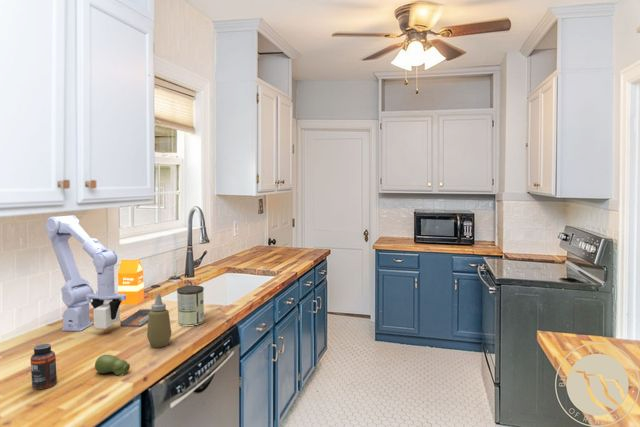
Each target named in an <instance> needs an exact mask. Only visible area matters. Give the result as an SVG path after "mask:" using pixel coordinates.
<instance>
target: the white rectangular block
mask: <svg viewBox="0 0 640 427" xmlns="http://www.w3.org/2000/svg"><path fill="white" fill-rule="evenodd" d="M119 321H121V320H120V307H119V308H118V311H117V314H116V318H115V319H113V320H112V319H111V309H110V305H109V302H106V303H105V304H103V305H101V306H99V307H97V308H95V309H94V308H93V322H94V324H93V328H94V329H107V328H109V327H111V326H112V325H113V324H115V323H117V322H119Z"/></svg>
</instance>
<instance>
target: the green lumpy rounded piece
mask: <svg viewBox="0 0 640 427" xmlns="http://www.w3.org/2000/svg"><path fill="white" fill-rule="evenodd" d="M130 368H131V365H130V363H128V361H126V360H124V359H121V358H119V357H118V356H115V355H112V354H102V355H100V356H98V358H96V360H95V363H94V369H95V371H96V372H98V373H99V374H107V373H114V375H115V376H120V375H122V374H123V375H125V374H126V373H128V372H127V371H129V370H130ZM124 373H125V374H124ZM123 375H122V376H123Z"/></svg>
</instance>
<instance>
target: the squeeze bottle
mask: <svg viewBox="0 0 640 427" xmlns="http://www.w3.org/2000/svg"><path fill="white" fill-rule="evenodd" d="M150 307H151V309H152V311H150V312H149V317H148V322H147V331H146V337H147V339H148V342H149V345H150V347H152V348H155V347H157V348H162V347H163V346H164V347H166V346H168V345H169V343H170V339H171V336H172V328H171V321H170V312H169V310H168V309H167V307H166V303H164V302H163V300H162V296H161V294H160V293H158V294H156V295H155V300H154V303H153V304H151V306H150Z"/></svg>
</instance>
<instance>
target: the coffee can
mask: <svg viewBox="0 0 640 427" xmlns="http://www.w3.org/2000/svg"><path fill="white" fill-rule="evenodd" d="M204 290H205V288H204V286H201V285H185V286H180V287H178V288H177V289H176V292H177V293H176V294H177V324H179V325H178V326H180V325H184V326H189V325H196V324H200V323H202V322H203V321H204V322H205V306H204V305H205V304H204V301H205V300H204V297H205V296H204ZM184 326H183V327H184Z"/></svg>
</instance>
